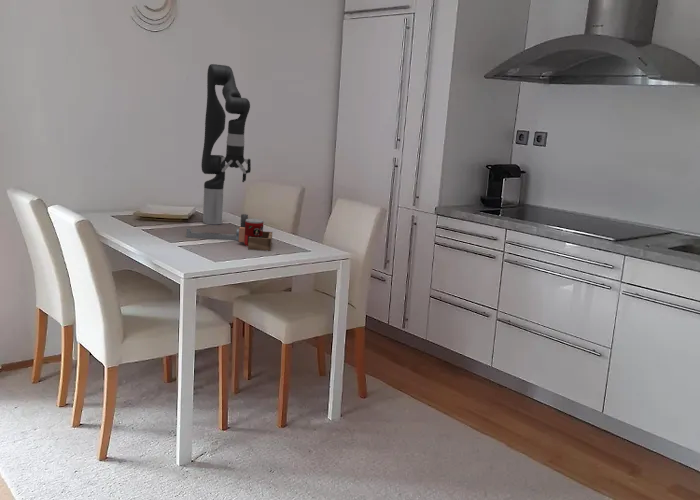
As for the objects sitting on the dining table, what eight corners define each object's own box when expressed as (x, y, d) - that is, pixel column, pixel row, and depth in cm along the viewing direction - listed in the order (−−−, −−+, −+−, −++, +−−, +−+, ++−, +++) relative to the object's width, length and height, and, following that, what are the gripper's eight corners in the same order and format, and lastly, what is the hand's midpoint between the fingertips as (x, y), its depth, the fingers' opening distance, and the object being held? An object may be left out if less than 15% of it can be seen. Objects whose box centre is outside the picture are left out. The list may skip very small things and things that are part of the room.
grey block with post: (237, 237, 296) (238, 213, 293) (250, 238, 296) (251, 214, 294) (234, 243, 283) (235, 218, 281) (248, 244, 284) (249, 219, 281)
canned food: (247, 247, 280) (248, 221, 278) (242, 243, 287) (243, 218, 285) (264, 247, 283) (266, 221, 281) (259, 243, 290) (260, 218, 288)
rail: (187, 235, 293) (187, 227, 292) (256, 240, 295) (256, 232, 295) (186, 237, 290) (186, 229, 289) (255, 241, 293) (256, 233, 292)
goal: (250, 241, 291) (251, 230, 290) (271, 243, 292) (272, 231, 291) (248, 249, 277) (248, 237, 276) (270, 250, 277) (270, 239, 276)
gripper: (252, 144, 293) (250, 181, 297) (219, 142, 291) (218, 178, 295) (251, 146, 285) (249, 183, 289) (217, 143, 284) (216, 181, 288)
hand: (233, 181), depth 292 cm, fingers open, 8 cm apart
